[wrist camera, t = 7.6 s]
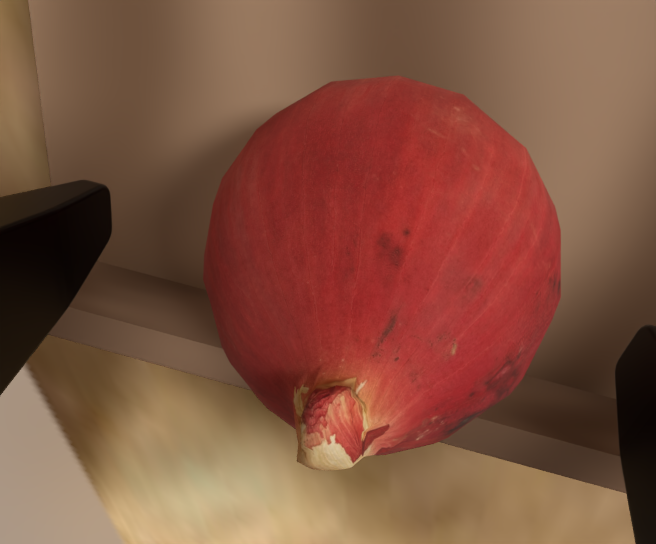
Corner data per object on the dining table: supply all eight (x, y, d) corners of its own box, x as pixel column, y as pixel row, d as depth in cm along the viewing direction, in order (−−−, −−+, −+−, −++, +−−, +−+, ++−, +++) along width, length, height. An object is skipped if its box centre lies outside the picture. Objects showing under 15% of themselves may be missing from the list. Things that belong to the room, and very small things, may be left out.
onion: (592, 158, 12) (769, 498, 5) (409, 314, 15) (377, 649, 8) (377, -35, 10) (257, 100, 4) (225, 180, 14) (19, 452, 7)
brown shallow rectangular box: (867, -61, 12) (1145, -26, 7) (606, 344, 19) (657, 502, 14) (112, -226, 13) (-100, -295, 8) (128, 219, 20) (20, 326, 15)
